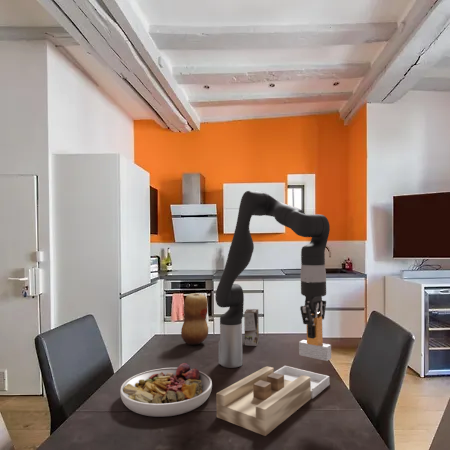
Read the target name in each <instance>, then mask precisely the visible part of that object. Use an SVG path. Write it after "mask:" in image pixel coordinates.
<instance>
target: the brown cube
mask: <svg viewBox="0 0 450 450" xmlns="http://www.w3.org/2000/svg"><path fill="white" fill-rule="evenodd" d="M274 372H275V371H274ZM274 372H273V373H272V374H270V375H268V376H267V382H269V383H271V390H274V391H277V392H278V391H279V390H281V389H282V388H284V375H282V374H278V373H274Z"/></svg>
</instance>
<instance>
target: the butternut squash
mask: <svg viewBox="0 0 450 450" xmlns="http://www.w3.org/2000/svg"><path fill="white" fill-rule="evenodd" d="M207 315H208V298H207V296H205V295H204V294H203V293H197V292H195V293H188V295H186V296H185V299H184V302H183V318H184V319H183V324H182V327H181V330H180V331H181V332H180V333H181V334H180V335H181V338H182V341H183V342H184V343H185V344H187V345H200V344H201V343H203V342H204V341H205V340H206V339H207V338H208V336H209V325H208V322H207Z"/></svg>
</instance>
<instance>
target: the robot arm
mask: <svg viewBox="0 0 450 450" xmlns="http://www.w3.org/2000/svg"><path fill="white" fill-rule="evenodd" d="M253 216H258V217H261V216H266V217H267V216H268V217H274V219H275V221H276V222H277V223H278V224H280V225H282V226H284V227H286V228H288V229H290V230H291V231H293V232H294V233H295V234H296V235H297V236H300V237H302V238H311V239H310V242H309V244H307V245H304V246H302V247H301V251H300V253H301V254H300V256H301V257H300V261H301V264H300V265H301V267H300V294H301V296H304V298H305V299H304V300H305V301H304V305H301V306H300V307H299V311H300V315H301V319H302V324H303V325H306V332H307V331H308V338H313V339H314V338H315V318H317V316H322V321H323V320H325V315H326V307H327V300H323V298H322V297H325V296H326V295H327V273H326V272H327V270H326V263H325V261H326V259H325V257H326V256H325V255H326V253H325V251H326V248H327V243H328V240H329V235H330V232H331V231H330V230H331V229H330V227H331V226H330V222H329V219H328V218H327V217H326V216H325V215H324V214H318V213H316V214H315V213H313V214H312V213H311V214H310V213H308V214H307V213H306V212H305V211H303V209H300V208H298V207H296V206H292V205H290V204H286V203H284V202H282V201H280V200H278V199H276V198H275V197H274V196H272V195H271V194H269V193H267V192H265V191H256V190H246V191H245V192H244V193H243V194H242V196H241V199H240V202H239V207H238V214H237V220H236V225H235V229H234V232H233V237H232V240H231V243H230V247H229V250H228V254H227V259H226V263H225V266H224V267H223V268H224V269H223V273H222V274H221V278H220V279H219V281H218V282H219V283H218V284H217V288H216V291H215V295H214V296H215V297H214V298H215V302H216V305H217V307H220V308H222V309H223V308H228V309H227V311H226V312H224V313H223V314H222V315H220V317H219V339H220V340H218V345H217V346H218V349H217V350H218V351H217V353H218V364H219V365H221V367H224V368H231V369H232V368H234V369H235V368H238V367H241V366H242V365H243V318H244V317H243V316H244V304H245V303H244V301H245V299H244V298H245V296H244V294H245V293H244V290H243V287H242V286H241V285H240V284H239V283H237V284H236V283H235V281H236V279H237V278H238V277H239V276H240V275H241V274H242V273H243V271H245V270H246V268H247V267H248V266H249V264H250V262H251V259H252V255H253V253H254V247H255V246H254V240H253V237H252V235H251V231H250V223H251V220H252V217H253Z"/></svg>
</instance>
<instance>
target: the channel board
mask: <svg viewBox="0 0 450 450" xmlns="http://www.w3.org/2000/svg"><path fill="white" fill-rule="evenodd" d="M273 372H275V370H274V367H271V366H264V367H262V368H261V369H259V370H257V371H255V372H253V373H251V374H250V375H247V376H245V377H244V378H242V379H240V380H238V381H236V382H235V383H233V384H231V385H229V386H227V387H225V388H224V389H222V390H220V391H218V392H216V395H215V396H216V399H215V400H216V418H218V419H221V420H223V421H226V422H228V423H231V424H233V425H236V426H239V427H241V428H243V429H246V430H248V431H251V432H254V433H256V434H259V435H262V436H263V437H266V436H268V435H269V434H270V433H271V432H272V431H273V430H275V429H276V428H278V426H280V425H281V424H282V423H283V422H284V421H286V420H287V419H288V418H289V417H291V415H293V414H294V413H296V412H297V410H299V409H300V408H301V407H302V406H304V405H305V404H306V403H307V402H309V401H310V400H311V399H312V398H311V379H310V377H308V376H304V375H301V376H300V377H298V378H297V379H295V380H294V381H289V380H285V379H284V388H282V389H281V390H279V391H278V392H277V391H274V390H271V396H270V397H269V398H267V399H266V400H265V401H263V400H260V399H257V398H254V397H253V384H254V383H256V382H258V381H260V380H262V381H266V382H267V376H268V375H270V374H272V373H273Z"/></svg>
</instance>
